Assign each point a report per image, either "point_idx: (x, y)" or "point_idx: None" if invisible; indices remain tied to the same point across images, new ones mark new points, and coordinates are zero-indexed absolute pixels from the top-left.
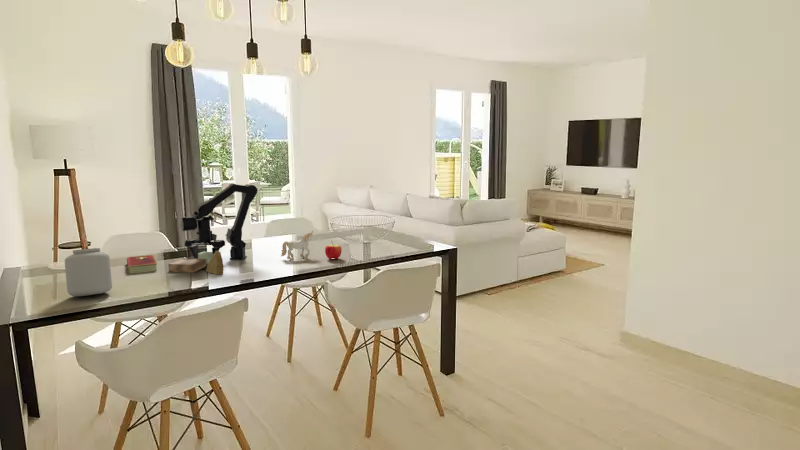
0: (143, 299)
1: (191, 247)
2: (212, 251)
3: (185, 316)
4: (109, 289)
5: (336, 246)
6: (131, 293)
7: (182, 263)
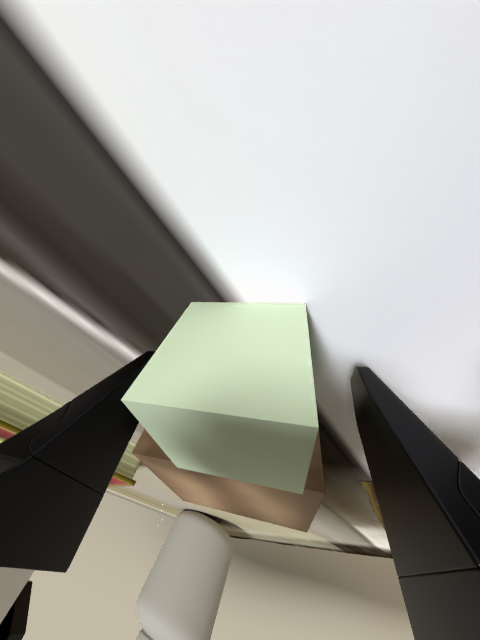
0: (303, 544)
1: (61, 566)
2: (403, 581)
3: None
4: (231, 540)
5: None
6: (258, 527)
7: (237, 510)
